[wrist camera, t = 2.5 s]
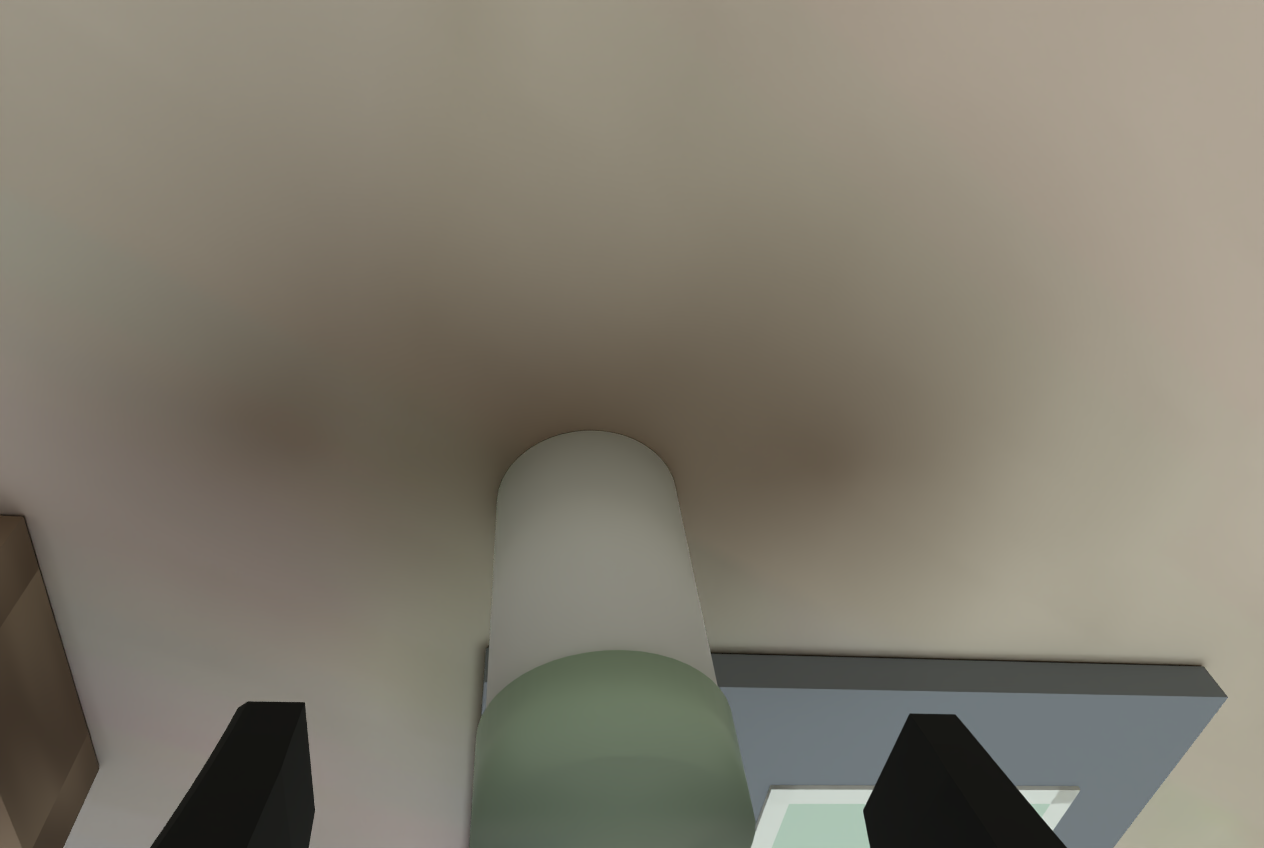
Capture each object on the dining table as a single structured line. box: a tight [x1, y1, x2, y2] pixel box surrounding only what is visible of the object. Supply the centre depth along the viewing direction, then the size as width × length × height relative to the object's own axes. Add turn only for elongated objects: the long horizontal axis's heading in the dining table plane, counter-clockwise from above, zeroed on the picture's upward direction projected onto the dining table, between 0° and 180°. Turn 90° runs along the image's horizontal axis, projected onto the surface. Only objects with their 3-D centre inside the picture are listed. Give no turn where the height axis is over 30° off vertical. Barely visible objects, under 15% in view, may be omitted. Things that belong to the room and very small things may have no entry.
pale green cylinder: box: [469, 431, 756, 848], centre depth 12 cm, size 3×3×6 cm
